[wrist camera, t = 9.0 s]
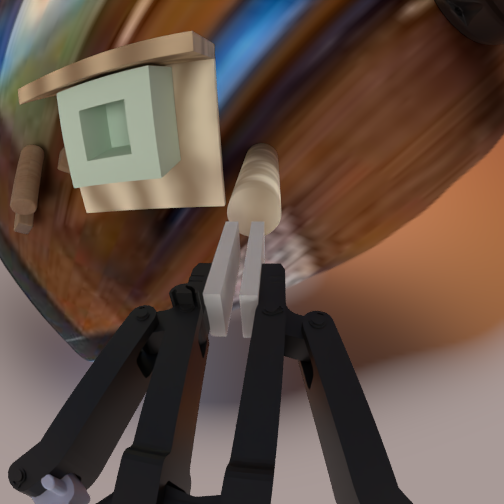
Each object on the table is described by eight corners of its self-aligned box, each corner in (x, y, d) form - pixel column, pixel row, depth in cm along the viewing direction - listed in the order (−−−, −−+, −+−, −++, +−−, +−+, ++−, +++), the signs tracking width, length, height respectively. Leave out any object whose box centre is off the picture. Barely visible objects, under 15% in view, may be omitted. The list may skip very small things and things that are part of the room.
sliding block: (171, 67, 28) (148, 65, 22) (180, 160, 34) (161, 178, 28) (88, 87, 29) (56, 93, 23) (101, 169, 35) (74, 188, 29)
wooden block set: (38, 200, 42) (35, 250, 39) (1, 188, 35) (-7, 240, 32) (86, 138, 36) (83, 192, 32) (41, 117, 28) (27, 173, 25)
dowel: (277, 143, 34) (281, 188, 20) (278, 173, 36) (280, 237, 22) (245, 143, 34) (224, 188, 21) (246, 173, 36) (229, 237, 23)
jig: (214, 44, 27) (192, 30, 19) (225, 203, 39) (211, 241, 30) (65, 80, 29) (17, 89, 21) (89, 210, 40) (54, 243, 32)
